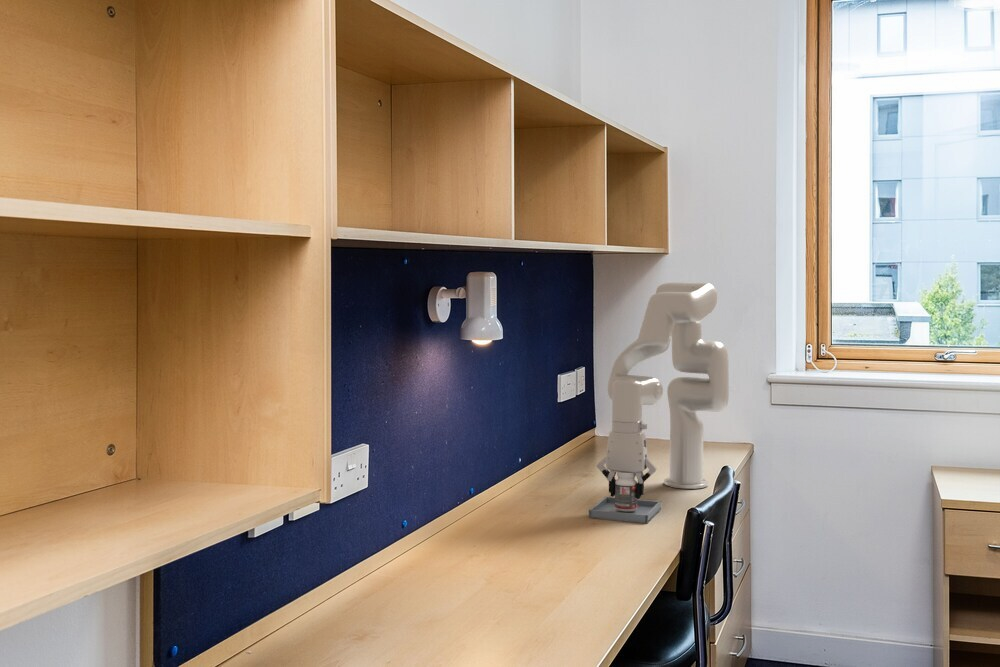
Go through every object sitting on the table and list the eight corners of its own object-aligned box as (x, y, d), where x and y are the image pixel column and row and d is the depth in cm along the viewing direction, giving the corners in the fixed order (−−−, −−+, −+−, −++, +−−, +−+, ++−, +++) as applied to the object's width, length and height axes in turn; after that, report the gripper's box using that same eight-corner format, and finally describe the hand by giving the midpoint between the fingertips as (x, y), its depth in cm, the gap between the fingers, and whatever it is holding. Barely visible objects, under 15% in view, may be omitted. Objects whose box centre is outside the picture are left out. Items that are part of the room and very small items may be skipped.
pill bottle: (636, 512, 246) (636, 474, 246) (613, 511, 247) (614, 473, 247) (637, 507, 252) (638, 469, 251) (615, 506, 253) (616, 468, 252)
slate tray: (605, 503, 260) (605, 496, 260) (661, 509, 254) (661, 501, 254) (588, 517, 245) (588, 509, 245) (647, 523, 239) (647, 515, 239)
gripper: (663, 427, 249) (662, 496, 250) (598, 423, 255) (597, 490, 256) (656, 431, 242) (656, 503, 243) (590, 427, 248) (589, 497, 249)
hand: (626, 496), depth 249 cm, fingers open, 6 cm apart
